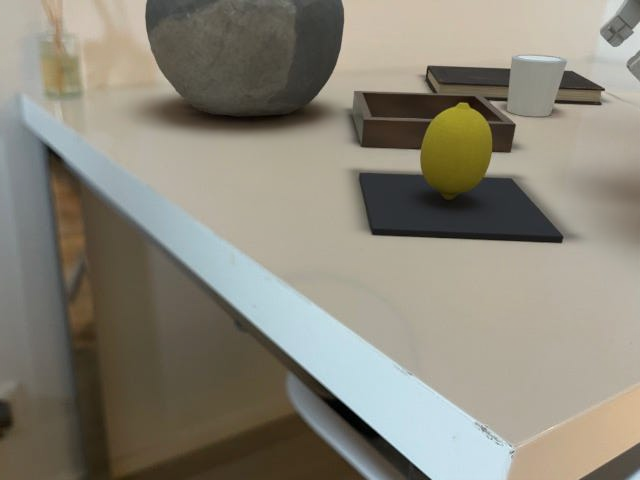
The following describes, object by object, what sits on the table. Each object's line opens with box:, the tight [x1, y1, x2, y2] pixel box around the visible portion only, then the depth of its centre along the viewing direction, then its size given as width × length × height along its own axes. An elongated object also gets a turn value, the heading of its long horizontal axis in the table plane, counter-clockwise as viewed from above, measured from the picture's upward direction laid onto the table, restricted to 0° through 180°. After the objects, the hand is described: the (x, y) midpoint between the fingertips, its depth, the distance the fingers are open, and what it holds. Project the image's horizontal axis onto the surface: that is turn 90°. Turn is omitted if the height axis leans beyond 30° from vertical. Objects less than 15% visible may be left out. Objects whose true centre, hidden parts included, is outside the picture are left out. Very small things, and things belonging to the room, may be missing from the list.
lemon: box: [419, 103, 493, 200], centre depth 54 cm, size 6×6×8 cm
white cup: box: [506, 54, 568, 118], centre depth 88 cm, size 7×7×7 cm
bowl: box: [144, 0, 345, 118], centre depth 83 cm, size 24×24×15 cm
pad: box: [358, 172, 564, 243], centre depth 55 cm, size 14×14×1 cm
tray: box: [351, 90, 517, 153], centre depth 78 cm, size 16×16×3 cm
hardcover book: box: [425, 64, 606, 106], centre depth 102 cm, size 16×23×2 cm
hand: (618, 56), depth 52 cm, fingers open, 8 cm apart
